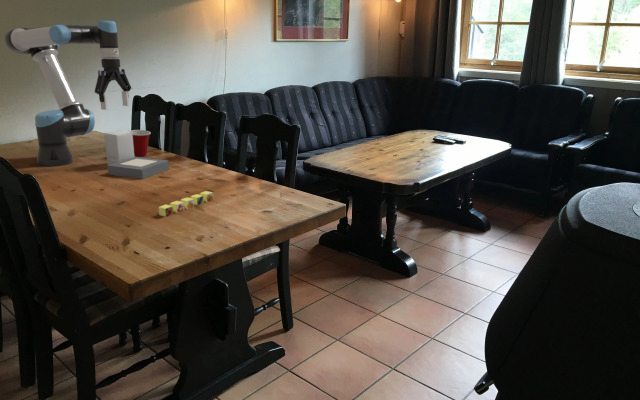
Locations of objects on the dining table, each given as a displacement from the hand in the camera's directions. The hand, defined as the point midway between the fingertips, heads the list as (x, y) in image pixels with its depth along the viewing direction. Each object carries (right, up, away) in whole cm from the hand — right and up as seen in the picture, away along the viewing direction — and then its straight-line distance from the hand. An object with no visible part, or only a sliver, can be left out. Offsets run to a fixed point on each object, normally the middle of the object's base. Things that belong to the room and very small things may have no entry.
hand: (115, 107), depth 234 cm
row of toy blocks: (+46, -44, -48) cm, 80 cm away
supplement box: (0, -25, +8) cm, 26 cm away
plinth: (+12, -29, -4) cm, 31 cm away
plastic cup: (+3, -19, +26) cm, 33 cm away
